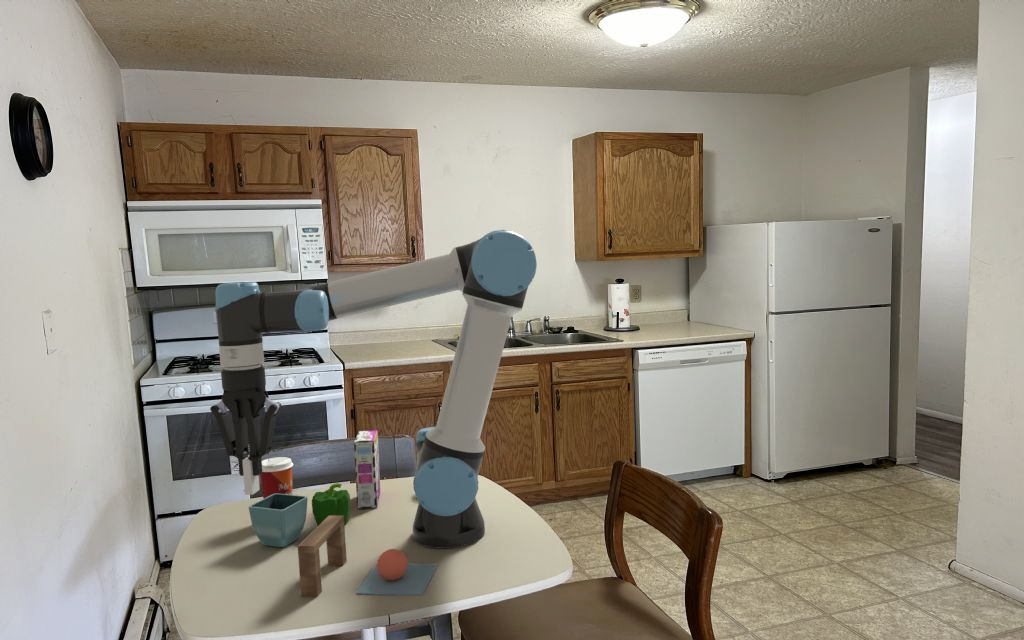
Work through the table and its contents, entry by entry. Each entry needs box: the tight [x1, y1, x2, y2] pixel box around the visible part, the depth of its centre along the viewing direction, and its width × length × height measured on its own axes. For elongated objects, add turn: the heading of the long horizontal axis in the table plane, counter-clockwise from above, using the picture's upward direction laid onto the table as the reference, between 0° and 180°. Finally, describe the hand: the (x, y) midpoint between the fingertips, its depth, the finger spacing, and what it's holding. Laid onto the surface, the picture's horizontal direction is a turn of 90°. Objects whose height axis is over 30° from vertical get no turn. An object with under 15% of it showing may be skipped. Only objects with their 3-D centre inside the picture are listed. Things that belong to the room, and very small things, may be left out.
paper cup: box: [259, 456, 294, 499], centre depth 161 cm, size 8×8×14 cm
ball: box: [376, 548, 408, 581], centre depth 130 cm, size 6×6×6 cm
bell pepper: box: [311, 482, 352, 527], centre depth 156 cm, size 8×8×10 cm
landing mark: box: [355, 563, 438, 596], centre depth 130 cm, size 12×12×1 cm
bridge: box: [297, 516, 347, 598], centre depth 131 cm, size 3×14×9 cm, turn 173°
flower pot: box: [248, 493, 309, 548], centre depth 149 cm, size 9×9×9 cm
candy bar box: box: [353, 429, 381, 510], centre depth 172 cm, size 11×5×16 cm, turn 6°
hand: (252, 492), depth 132 cm, fingers closed
